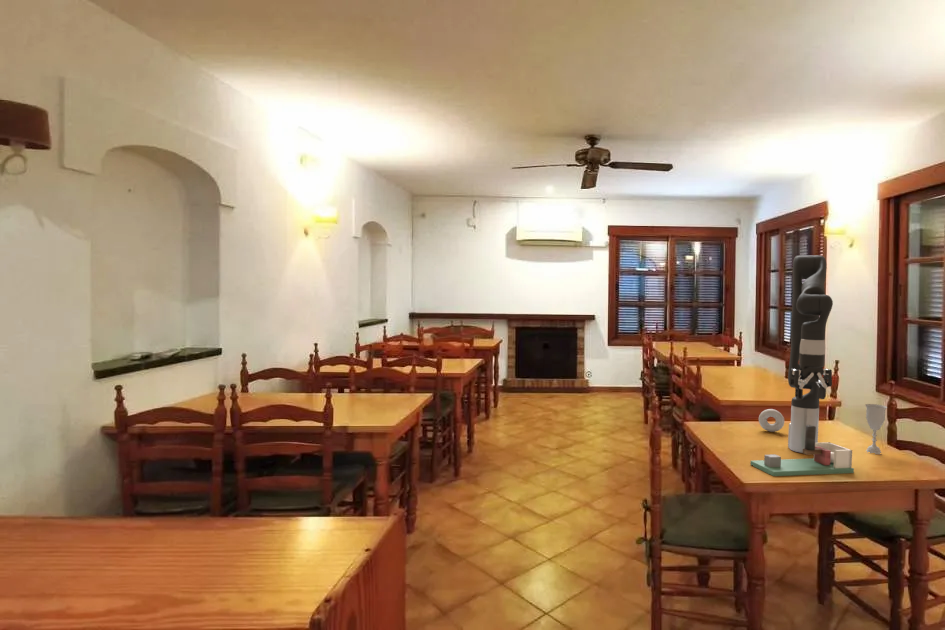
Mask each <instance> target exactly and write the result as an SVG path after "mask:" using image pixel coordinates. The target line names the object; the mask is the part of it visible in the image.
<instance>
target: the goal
mask: <svg viewBox="0 0 945 630" xmlns="http://www.w3.org/2000/svg"><path fill="white" fill-rule="evenodd" d="M815 447H822V448H825V449H828V450H830V451H831V452H834V468H853V467H852V466H853V465H852V464H853V450H852V449H850V448H847V447H844V446H841V445H838V444H836V443H833V442H830V441H829V442H827V441H826V442H825V441H824V442H823V441H822V442H818V443H815Z"/></svg>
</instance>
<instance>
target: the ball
mask: <svg viewBox="0 0 945 630" xmlns="http://www.w3.org/2000/svg"><path fill="white" fill-rule="evenodd" d="M830 463H832V464H834V452H831V458H830Z"/></svg>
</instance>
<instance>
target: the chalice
mask: <svg viewBox="0 0 945 630" xmlns="http://www.w3.org/2000/svg"><path fill="white" fill-rule="evenodd" d="M864 406H865V407H866V409H865V412H866V414H865V418H866V422H867V424H868V426H869V428H870V430H872V434H871V436H872V439H871V441H872V443H871V445H869V446H868V447H866V450H865V452H866V451H867V452H866V453H868V452H870V453H869V454H871V453H875V454H874V455H881V454H880V453H882V451H881V449H880V447H879V446H877V444H876V443H877V441H878V440H877V436H878V434H877V431H880V429H881V428H882V426H883V425H884V422H885V420H886V410H887V409H888V406H886V405H882V404H877V403H876V404H875V403H865V404H864Z"/></svg>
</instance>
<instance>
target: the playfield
mask: <svg viewBox="0 0 945 630" xmlns="http://www.w3.org/2000/svg"><path fill="white" fill-rule="evenodd" d="M763 458H764V460H763V459H762V460H761V459H759V460H757V459H756V460H750V462H749V464H751V465H750V466H752V465H753V466H752V467H754V468H756V469H758V470H760V471H762V472H764V473H766V474H768V475H770V476H773V477H785V476H786V477H787V476H788V477H789V476H807V475H809V476H810V475H814V476H815V475H833V474H834V475H836V474H854V473H855V468H853V467H852V468H834V464H832V463H830V465H823V464H821V463H818V462H816V461H814V457H813V458H790V459H789V458H788V459H782V456H780V455H778V454H764V457H763Z"/></svg>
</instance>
